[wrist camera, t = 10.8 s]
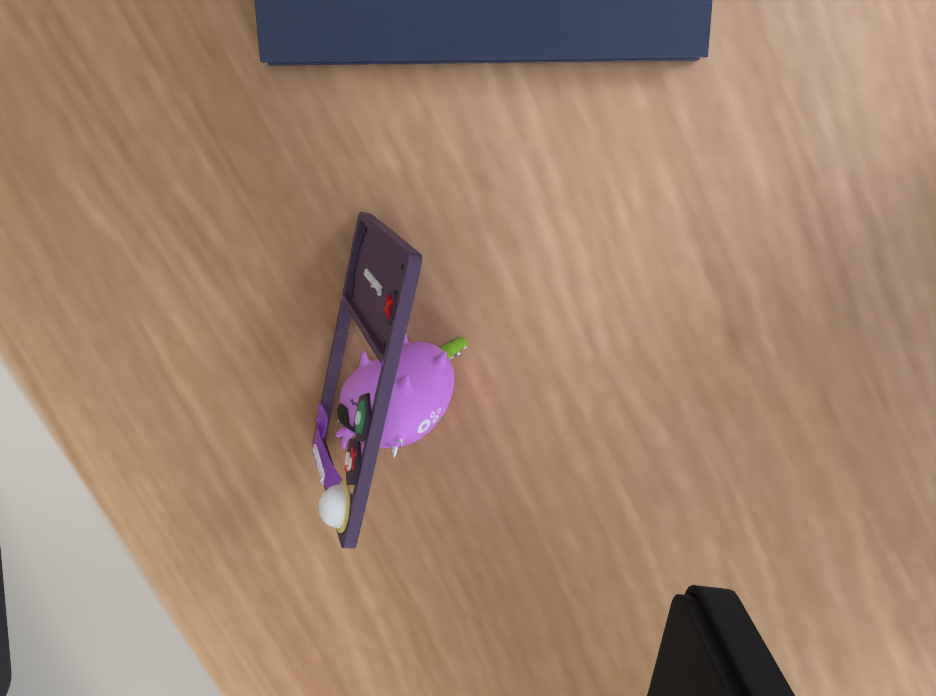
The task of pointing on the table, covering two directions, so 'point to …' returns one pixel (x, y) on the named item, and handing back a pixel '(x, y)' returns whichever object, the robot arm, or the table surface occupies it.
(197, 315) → the table surface
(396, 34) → the notebook
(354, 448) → the purple toy package
